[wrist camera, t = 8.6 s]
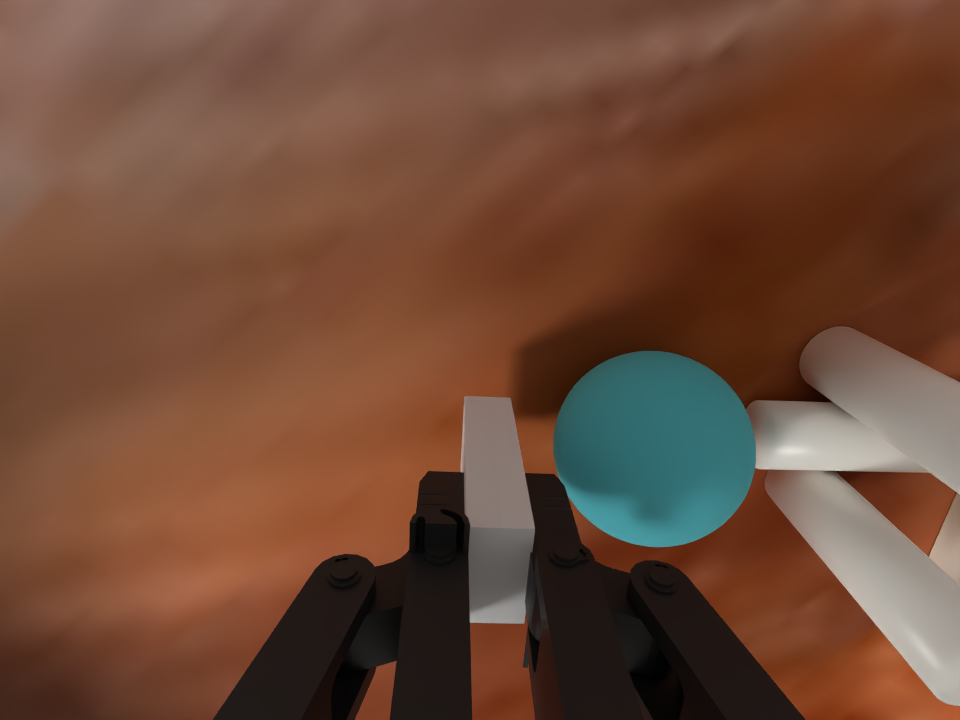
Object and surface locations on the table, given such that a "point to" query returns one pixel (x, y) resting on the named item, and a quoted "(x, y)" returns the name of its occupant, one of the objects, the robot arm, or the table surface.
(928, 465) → the pin
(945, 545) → the back wall
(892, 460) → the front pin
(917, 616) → the pin
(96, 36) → the table surface
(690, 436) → the ball
